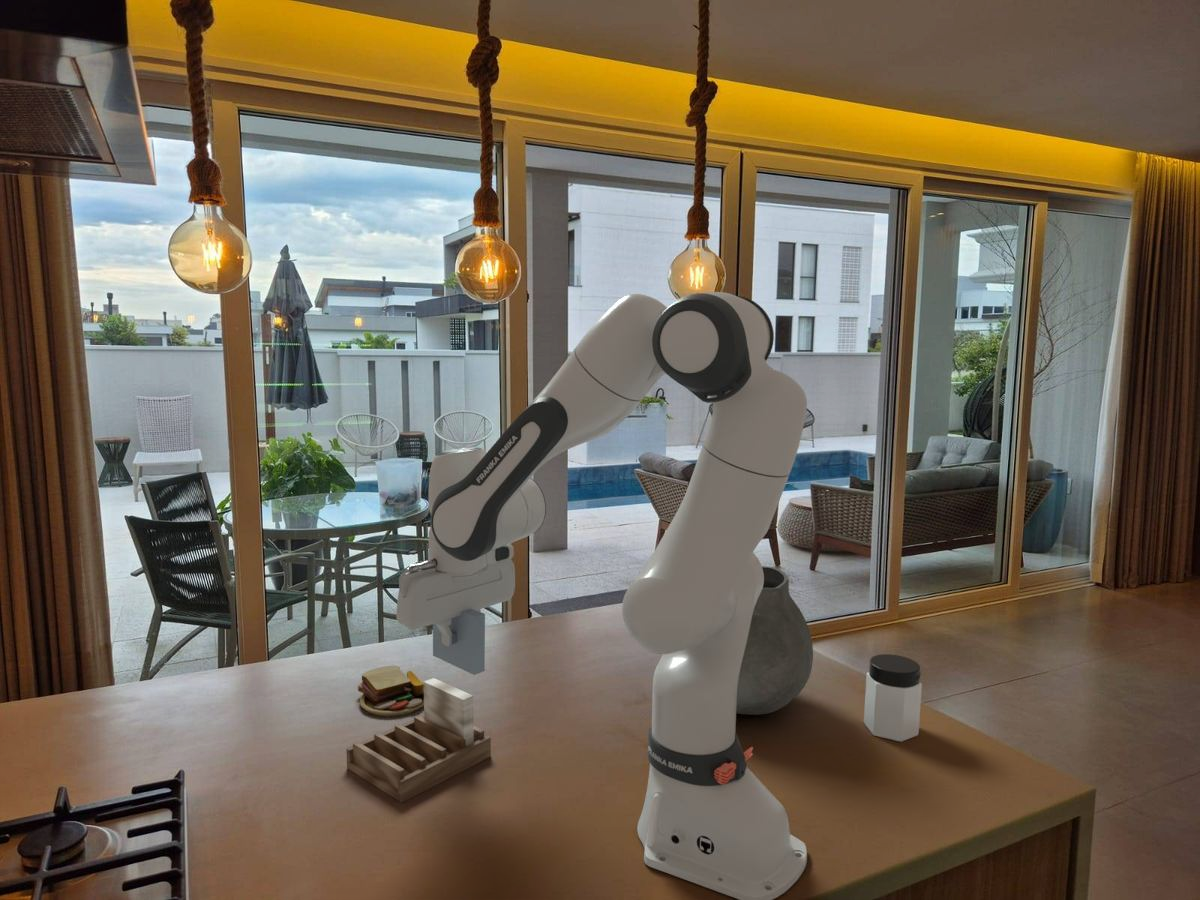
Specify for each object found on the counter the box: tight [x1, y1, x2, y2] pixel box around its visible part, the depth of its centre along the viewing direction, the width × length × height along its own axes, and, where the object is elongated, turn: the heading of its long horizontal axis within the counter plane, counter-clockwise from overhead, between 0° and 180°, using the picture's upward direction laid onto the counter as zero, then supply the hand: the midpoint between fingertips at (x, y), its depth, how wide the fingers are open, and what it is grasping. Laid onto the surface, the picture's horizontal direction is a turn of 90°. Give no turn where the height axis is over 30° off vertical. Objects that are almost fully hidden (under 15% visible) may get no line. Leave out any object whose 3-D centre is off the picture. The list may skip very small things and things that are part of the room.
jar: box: [863, 653, 923, 743], centre depth 135 cm, size 9×8×12 cm
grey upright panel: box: [432, 609, 486, 676], centre depth 120 cm, size 10×2×9 cm, turn 49°
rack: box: [346, 677, 492, 803], centre depth 122 cm, size 14×17×10 cm
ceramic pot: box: [736, 565, 814, 716], centre depth 142 cm, size 24×24×25 cm
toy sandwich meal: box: [357, 665, 424, 717], centre depth 144 cm, size 12×14×5 cm
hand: (458, 640), depth 120 cm, fingers closed on grey upright panel, 2 cm apart
